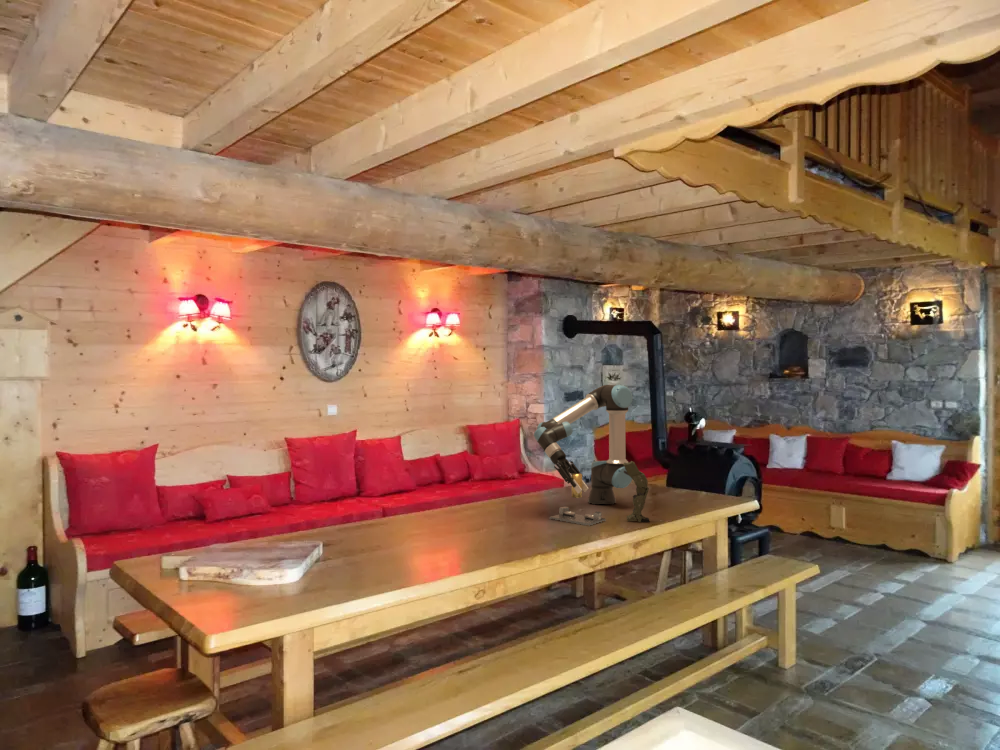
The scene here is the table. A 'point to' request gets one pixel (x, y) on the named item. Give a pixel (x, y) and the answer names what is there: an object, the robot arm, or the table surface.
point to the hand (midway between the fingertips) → (583, 490)
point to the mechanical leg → (641, 491)
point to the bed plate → (578, 517)
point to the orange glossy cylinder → (579, 480)
